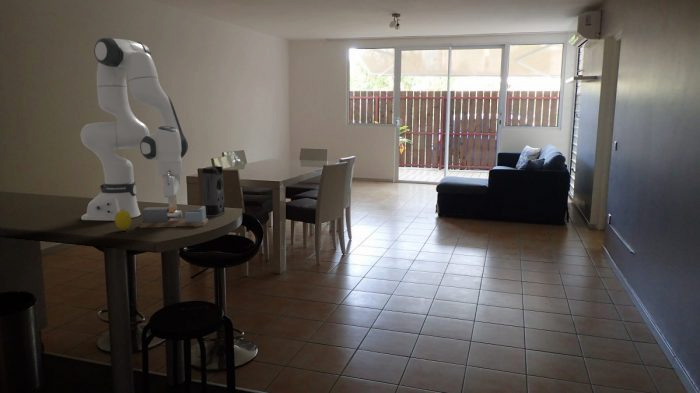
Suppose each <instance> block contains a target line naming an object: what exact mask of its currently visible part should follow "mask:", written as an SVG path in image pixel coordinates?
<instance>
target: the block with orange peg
mask: <svg viewBox="0 0 700 393" xmlns="http://www.w3.org/2000/svg"><path fill="white" fill-rule="evenodd" d="M167 200H168V199H167ZM168 204H169V200H168ZM174 204H175V205H174V207H170V206H169V205H168V207H169V211H167V218H171V219H183V211H182V210H180V209H179V210H178V202H177V196H176V197H174Z"/></svg>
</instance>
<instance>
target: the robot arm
mask: <svg viewBox="0 0 700 393" xmlns="http://www.w3.org/2000/svg"><path fill="white" fill-rule="evenodd" d="M150 50H151V49H150V48H149V46H147V45H146V44H144V43H142V42H140V41H134V40H130V39H126V38H112V37H102V38H100V39H98V40H96V43H95V44H94V50H93V52H94V53H93V54H94V56H95V60H97V62H98V64H97V68H96V91H97V102H98V103H97V104H98V106H99V109H101V110H102V111H104V112H106V113H108V114H111V115H113V116H114V117H115V118H116V121H98V122H92V123H87V124H85V125H84V126H83V127H81V130H80V140H81V143H82V144H83V145H84V146H85V148H87V149H89V150H90V151H91V152H93V153H94V154H95V155H96V156H97V158H98V159H99V161H100V162H101V164H102V169H103V176H104V183H103V184H101V185H100V186H99V188H98V189H100V193H98V194H97V195H96V196H95V197H94V198H93V199H92V200H91V201H89V203H88V205H87V207H86V213H85V214H83V215H81V217H80V218H81V220H82V221H112V222H113V221H114V222H115V216H116V214H117V213H118V212H119V211H121V210H124V211H127V212H128V213H129V214H130V216H131V219H132V218H136V217H139V216H140V215H141V210H140V209H139V204H138V200H137V197H136V196H137V186H136V181H135V179H134V178H135V174H134V165H133V163H132V161H131V160H130V159H127V158H125V157H123V156H120V155H118V154H117V153H116V150H124V149H127V150H130V149H137V148H139V149H140V153H141V154H142V156H143V158H145V159H146V160H152V161H155V160H157V171H158V175H160V176H161V178H162V180H163V183H162V184H163V196H164V198H167V200H169V203H168V207H169V206H170V207H174V205H175V204H174V197H176V198H177V194H178V192H179V189H180V186H181V185H180V180H181V175H183V174H184V170H183V169H184V168H183V157H184V156H185V155H186V154H187V152H188V149H189V144H188V141H187V138H186V137H185V136H186V135H184V133H183V130H182V128H181V127H182V126H181V125H180V122H179V119H178V116H177V112H176V110H175V107H174V104H173V101H172V99H171V97H170V96H169V95H168V94H167V93H165V91H164V90H163V87H162V86H161V84H160V79H159V75H158V70H157V67H156V65H155V62H154V59H153V58H152V53H151V51H150ZM127 81H128V82H127ZM127 83H128V84H127ZM127 85H128V86H127ZM128 87H129V92H130V94H131V96H132V97H133V99H135V100H136V101H137V102H139V103H140V104H141V105H145V106H147V107H150V108H152V109H154V110H155V111H157V112H158V113H159V114H160V115H161V117H162V120H163V124H164V125H162V126H159V127H157V128H156V129H155V130H156V131H154V132H153V133H151V134H150V130H149V128H148V126H147V125H146V124H145V123H144V122H142V121H141V120H139V119H138V118H137V117H136V115H134V113H133V111H132V109H131V107H130V106H131V105H130V103H129V102H130V101H129V96H128Z"/></svg>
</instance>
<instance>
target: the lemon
mask: <svg viewBox="0 0 700 393" xmlns="http://www.w3.org/2000/svg"><path fill="white" fill-rule="evenodd" d="M114 222H115V226H116V227H117V228H118V229H119V230H122V231H123V232H124V231H126V230H127V229H128V228H130V227H131V225H132V218H131V216H130V214H129V213H128V212H127V211H124V210H121V211H119V212H118V213H117V214H116V216H115V221H114Z"/></svg>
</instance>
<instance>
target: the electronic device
mask: <svg viewBox="0 0 700 393" xmlns="http://www.w3.org/2000/svg"><path fill="white" fill-rule="evenodd" d="M223 171H224V170H223V166H220V165H213V166H212V165H211V166H206V167H203V168H201V172H202V173H201V174H202V175H201V176H202V191H203V192H202V193H203V194H202V195H203V206H205V207H206V218H207V217H208V218H210V217H211V218H216V217H219V216H220V215H223V214H225V211H226V210H225V194H224V193H225V191H224V173H223Z"/></svg>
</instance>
